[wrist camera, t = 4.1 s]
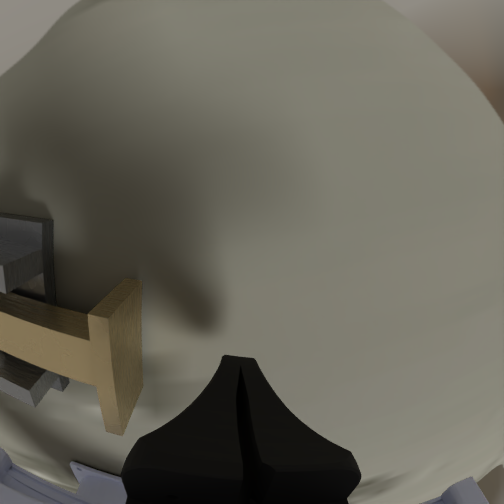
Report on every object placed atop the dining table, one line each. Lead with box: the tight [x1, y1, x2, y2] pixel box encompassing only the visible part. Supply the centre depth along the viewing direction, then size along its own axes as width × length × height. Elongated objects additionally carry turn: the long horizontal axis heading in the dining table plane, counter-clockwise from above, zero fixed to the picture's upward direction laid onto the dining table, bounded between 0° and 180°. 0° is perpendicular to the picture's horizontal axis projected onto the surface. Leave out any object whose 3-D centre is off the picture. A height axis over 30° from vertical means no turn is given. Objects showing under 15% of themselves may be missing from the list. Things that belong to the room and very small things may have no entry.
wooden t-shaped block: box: [0, 278, 143, 436], centre depth 11 cm, size 10×6×4 cm, turn 81°
